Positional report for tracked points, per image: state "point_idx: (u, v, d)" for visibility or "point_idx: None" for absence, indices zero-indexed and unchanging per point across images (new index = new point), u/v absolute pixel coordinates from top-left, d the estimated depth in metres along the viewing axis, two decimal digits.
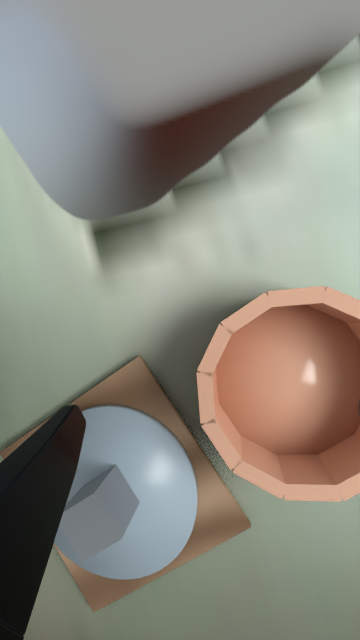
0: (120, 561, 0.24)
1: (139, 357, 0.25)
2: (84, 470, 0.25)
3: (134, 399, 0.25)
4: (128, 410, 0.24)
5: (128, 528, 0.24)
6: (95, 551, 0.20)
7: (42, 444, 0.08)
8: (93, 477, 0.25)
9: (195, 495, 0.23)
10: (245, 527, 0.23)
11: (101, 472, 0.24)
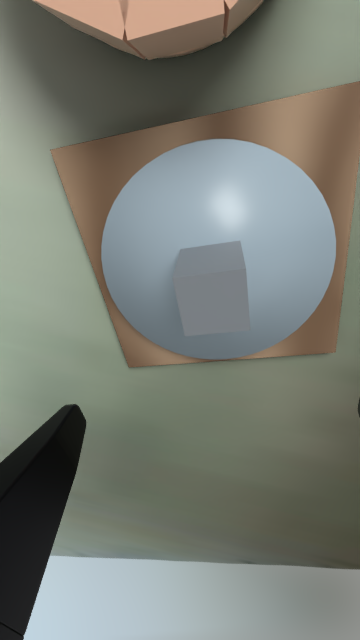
0: (297, 298, 0.19)
1: (53, 150, 0.16)
2: (173, 291, 0.19)
3: (110, 187, 0.17)
4: (116, 199, 0.17)
5: (264, 270, 0.18)
6: (245, 309, 0.15)
7: (42, 444, 0.08)
8: None
9: (268, 150, 0.15)
10: None
11: None
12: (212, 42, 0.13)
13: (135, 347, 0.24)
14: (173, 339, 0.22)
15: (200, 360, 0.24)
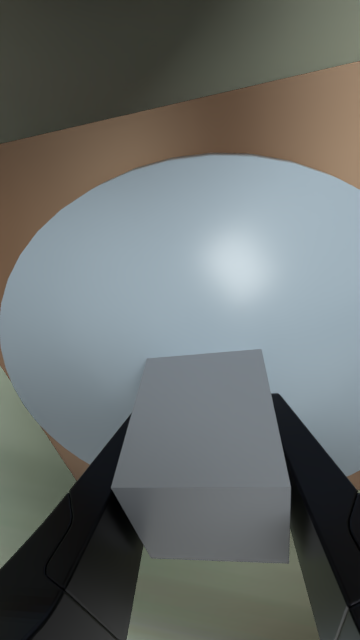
0: None
1: None
2: None
3: (7, 244, 0.09)
4: (13, 272, 0.08)
5: (305, 395, 0.10)
6: (282, 540, 0.07)
7: None
8: None
9: (337, 183, 0.06)
10: None
11: None
12: None
13: None
14: None
15: None
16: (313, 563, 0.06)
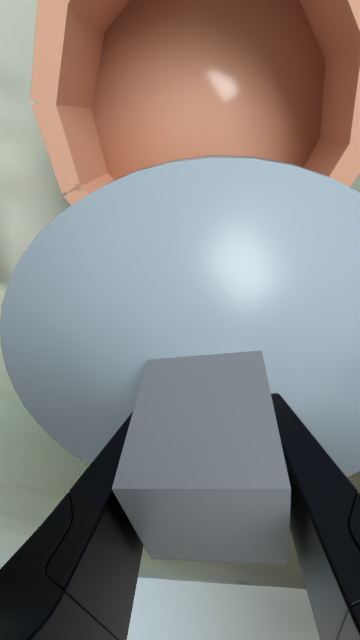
0: (359, 436, 0.10)
1: None
2: None
3: None
4: (14, 274, 0.08)
5: (304, 396, 0.10)
6: (281, 540, 0.07)
7: None
8: None
9: (337, 186, 0.06)
10: None
11: None
12: None
13: None
14: None
15: None
16: (313, 563, 0.06)
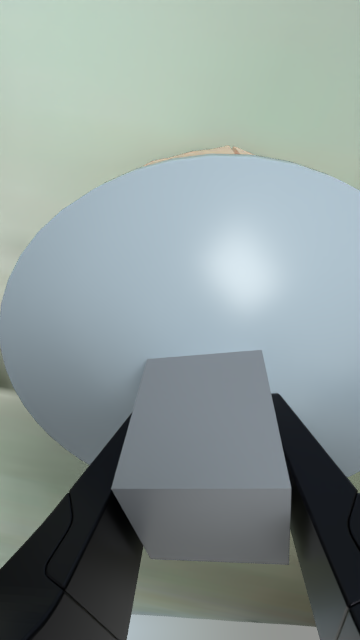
0: None
1: None
2: None
3: None
4: (13, 273, 0.08)
5: (305, 396, 0.10)
6: (282, 541, 0.07)
7: None
8: None
9: (338, 184, 0.06)
10: None
11: None
12: None
13: None
14: None
15: None
16: (313, 563, 0.06)
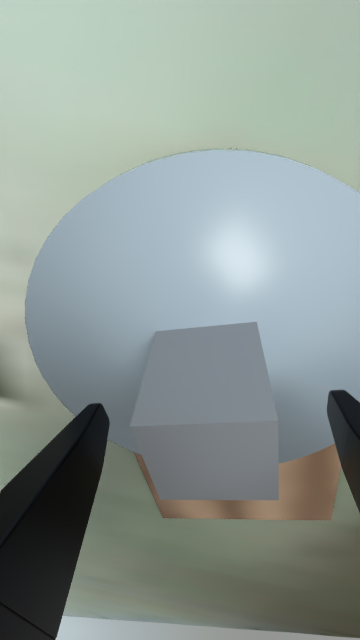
0: None
1: None
2: None
3: None
4: (40, 253, 0.10)
5: (295, 364, 0.11)
6: (271, 475, 0.08)
7: (71, 443, 0.08)
8: None
9: (318, 174, 0.08)
10: None
11: None
12: None
13: (169, 508, 0.29)
14: None
15: (222, 517, 0.29)
16: None
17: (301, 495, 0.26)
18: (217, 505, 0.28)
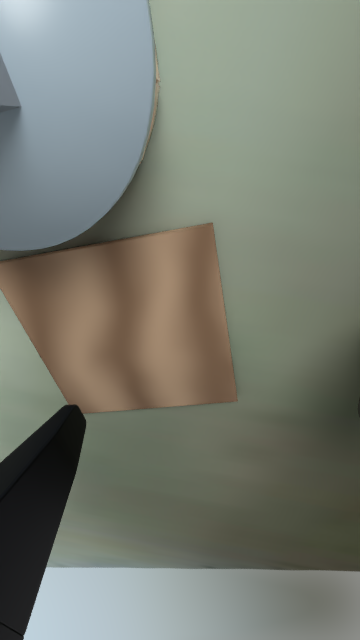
0: (108, 108, 0.11)
1: None
2: None
3: (37, 289, 0.22)
4: None
5: (35, 46, 0.10)
6: None
7: (42, 444, 0.08)
8: None
9: None
10: (211, 231, 0.19)
11: None
12: None
13: (77, 399, 0.28)
14: None
15: (131, 408, 0.29)
16: None
17: (199, 367, 0.25)
18: (122, 390, 0.27)
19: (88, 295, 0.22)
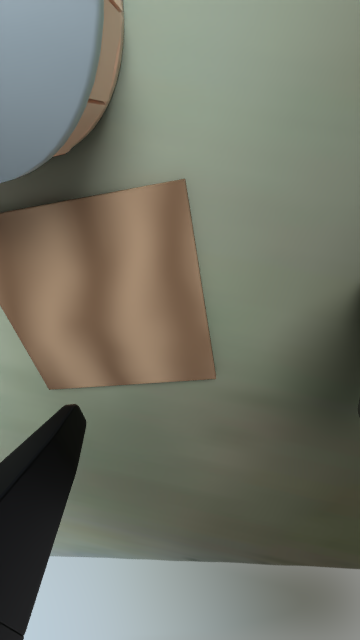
0: (50, 15, 0.10)
1: None
2: None
3: (5, 250, 0.21)
4: None
5: None
6: None
7: (42, 444, 0.08)
8: None
9: None
10: (182, 187, 0.18)
11: None
12: None
13: (51, 373, 0.28)
14: None
15: (107, 384, 0.28)
16: None
17: (175, 340, 0.24)
18: (97, 364, 0.26)
19: (58, 257, 0.21)
